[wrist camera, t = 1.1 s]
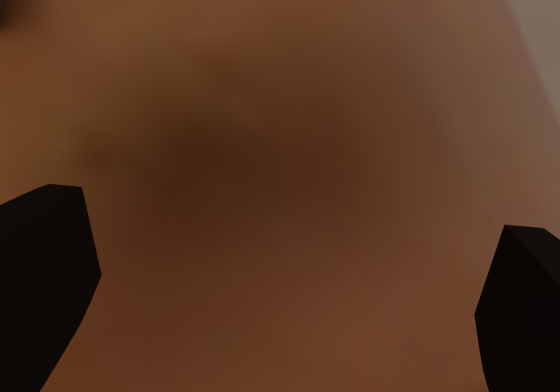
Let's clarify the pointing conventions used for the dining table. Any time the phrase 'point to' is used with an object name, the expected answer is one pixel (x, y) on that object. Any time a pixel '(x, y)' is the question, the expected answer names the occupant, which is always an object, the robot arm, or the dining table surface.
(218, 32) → the dining table surface
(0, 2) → the cam body
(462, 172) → the dining table surface
